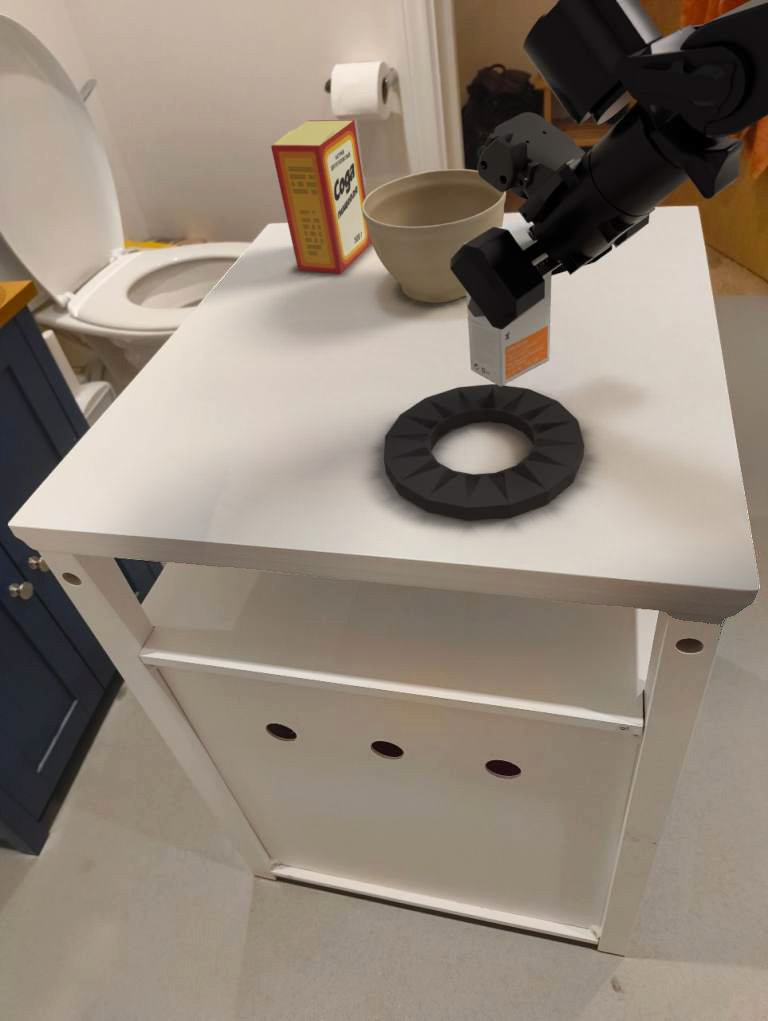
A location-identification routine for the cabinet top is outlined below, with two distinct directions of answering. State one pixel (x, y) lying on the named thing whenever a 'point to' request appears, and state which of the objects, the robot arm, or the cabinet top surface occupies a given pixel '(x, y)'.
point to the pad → (488, 492)
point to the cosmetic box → (512, 331)
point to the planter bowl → (430, 227)
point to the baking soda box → (323, 194)
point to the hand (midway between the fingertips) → (496, 294)
